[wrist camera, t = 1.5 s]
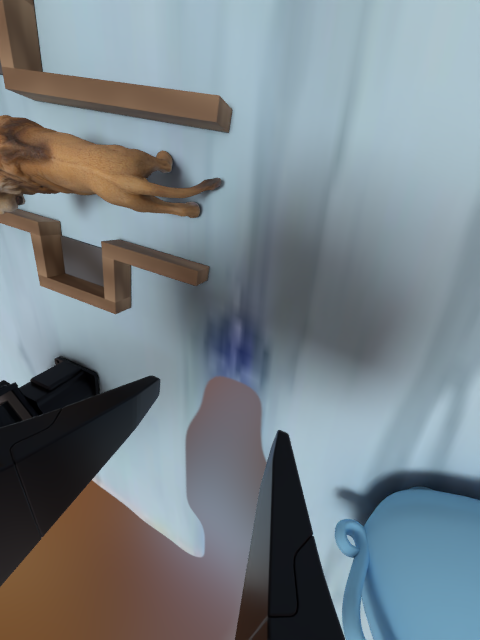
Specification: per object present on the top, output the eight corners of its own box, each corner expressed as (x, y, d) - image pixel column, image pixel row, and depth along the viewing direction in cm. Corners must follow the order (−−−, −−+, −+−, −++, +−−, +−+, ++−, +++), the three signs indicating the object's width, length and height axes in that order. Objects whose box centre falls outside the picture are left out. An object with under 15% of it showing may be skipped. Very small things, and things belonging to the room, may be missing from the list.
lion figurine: (77, 214, 22) (-61, 212, 14) (61, 145, 20) (-111, 98, 12) (224, 220, 18) (143, 223, 10) (224, 133, 16) (122, 50, 8)
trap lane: (199, 332, 23) (189, 342, 21) (-57, 238, 30) (-81, 239, 28) (250, -13, 13) (237, -50, 11) (-148, -25, 20) (-193, -48, 19)
